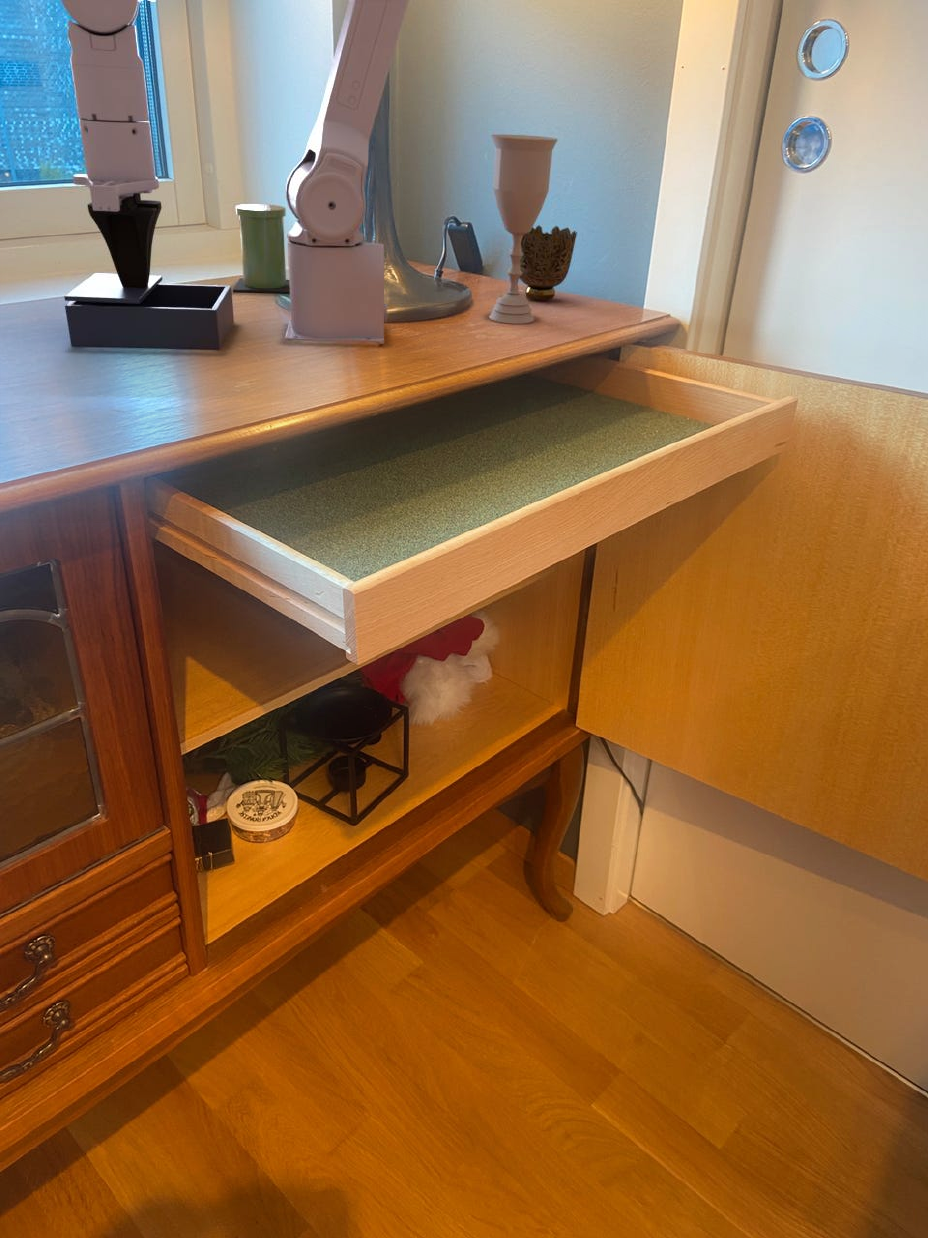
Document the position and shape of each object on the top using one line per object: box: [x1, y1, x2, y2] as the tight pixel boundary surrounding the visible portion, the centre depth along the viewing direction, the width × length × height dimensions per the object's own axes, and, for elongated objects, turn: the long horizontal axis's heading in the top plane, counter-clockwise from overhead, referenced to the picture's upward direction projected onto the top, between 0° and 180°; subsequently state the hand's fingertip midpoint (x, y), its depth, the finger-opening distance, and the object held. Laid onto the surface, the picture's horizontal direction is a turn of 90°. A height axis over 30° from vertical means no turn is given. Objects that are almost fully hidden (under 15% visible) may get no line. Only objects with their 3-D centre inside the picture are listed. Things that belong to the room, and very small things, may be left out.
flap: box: [64, 272, 163, 304], centre depth 86 cm, size 6×11×1 cm, turn 6°
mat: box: [232, 277, 290, 295], centre depth 110 cm, size 7×7×1 cm
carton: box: [64, 283, 235, 351], centre depth 87 cm, size 13×11×4 cm
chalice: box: [488, 134, 558, 325], centre depth 99 cm, size 7×7×18 cm
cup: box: [519, 225, 578, 302], centre depth 111 cm, size 8×7×8 cm
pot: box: [235, 203, 287, 289], centre depth 108 cm, size 6×6×8 cm
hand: (135, 286), depth 86 cm, fingers closed, pressing on flap
